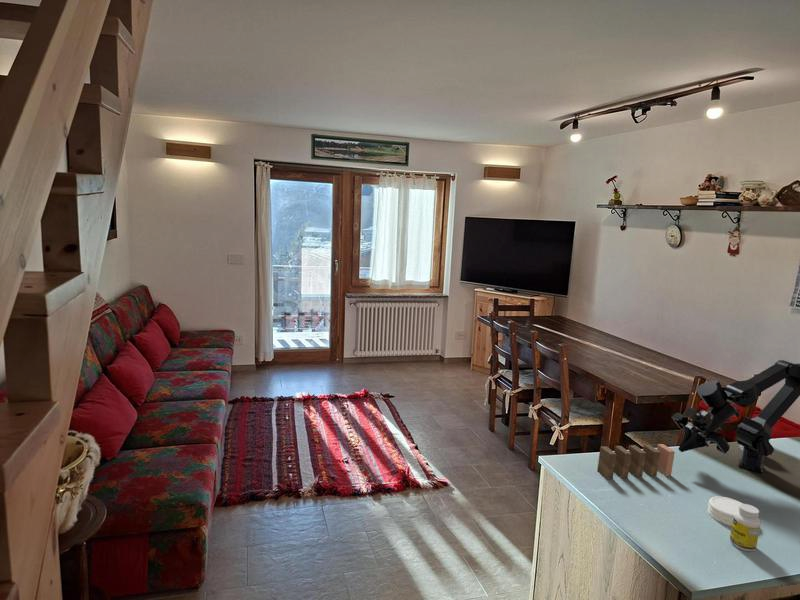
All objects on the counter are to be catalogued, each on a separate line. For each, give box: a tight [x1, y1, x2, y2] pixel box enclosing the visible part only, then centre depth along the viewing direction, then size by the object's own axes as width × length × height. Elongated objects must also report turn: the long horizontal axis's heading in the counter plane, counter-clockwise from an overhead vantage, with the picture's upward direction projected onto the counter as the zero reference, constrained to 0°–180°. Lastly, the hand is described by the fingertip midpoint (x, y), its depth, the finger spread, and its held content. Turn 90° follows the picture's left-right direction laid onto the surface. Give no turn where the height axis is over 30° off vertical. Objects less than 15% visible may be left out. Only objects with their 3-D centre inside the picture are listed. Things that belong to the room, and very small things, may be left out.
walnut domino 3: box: [628, 444, 646, 478], centre depth 156 cm, size 2×5×8 cm, turn 12°
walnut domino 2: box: [613, 445, 631, 479], centre depth 155 cm, size 2×5×8 cm, turn 12°
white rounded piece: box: [706, 496, 744, 528], centre depth 135 cm, size 10×10×4 cm
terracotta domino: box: [656, 443, 676, 477], centre depth 158 cm, size 2×5×8 cm, turn 13°
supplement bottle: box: [729, 503, 762, 552], centre depth 123 cm, size 5×5×10 cm
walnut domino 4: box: [642, 444, 660, 478], centre depth 157 cm, size 2×5×8 cm, turn 12°
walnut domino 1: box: [596, 445, 616, 480], centre depth 154 cm, size 2×5×8 cm, turn 12°
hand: (679, 450), depth 159 cm, fingers closed
